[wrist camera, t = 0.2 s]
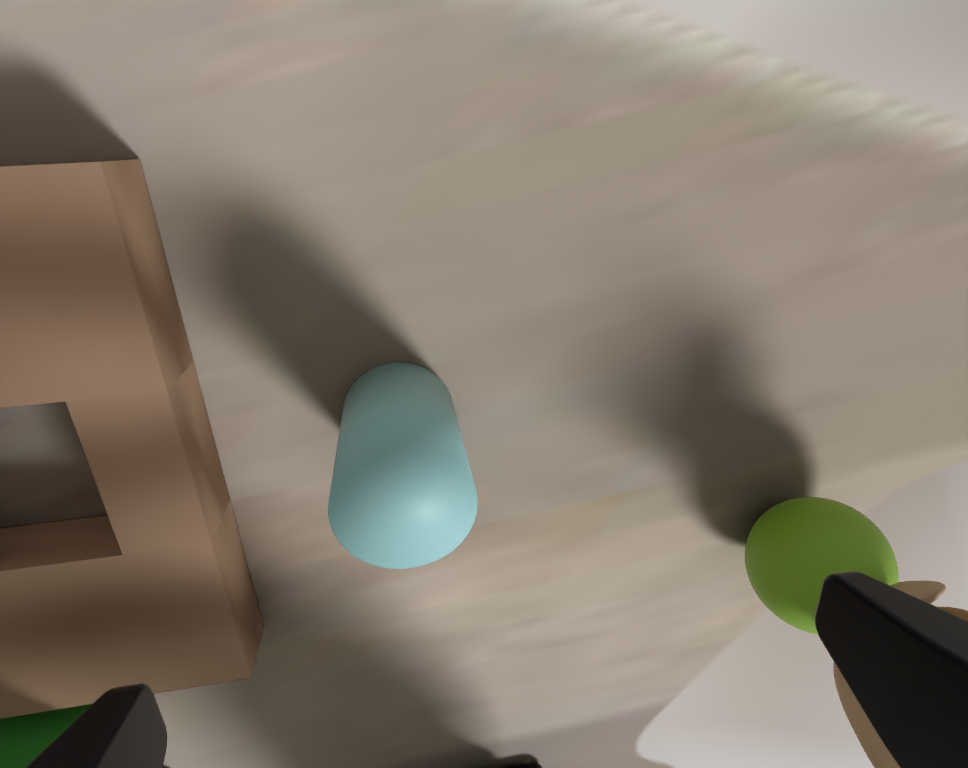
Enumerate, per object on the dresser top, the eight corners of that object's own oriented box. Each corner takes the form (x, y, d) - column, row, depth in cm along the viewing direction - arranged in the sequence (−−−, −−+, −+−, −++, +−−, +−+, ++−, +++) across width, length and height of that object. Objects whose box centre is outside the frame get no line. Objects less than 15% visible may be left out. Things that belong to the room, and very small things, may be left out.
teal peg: (456, 454, 22) (480, 557, 16) (351, 467, 21) (339, 578, 16) (449, 357, 20) (473, 435, 15) (335, 368, 20) (316, 454, 14)
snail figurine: (681, 556, 26) (899, 859, 15) (783, 451, 24) (1106, 702, 14) (755, 601, 28) (995, 899, 17) (853, 507, 26) (1184, 765, 15)
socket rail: (263, 626, 24) (250, 677, 21) (-30, 670, 22) (-77, 731, 20) (139, 158, 16) (100, 161, 14) (-306, 180, 15) (-430, 188, 13)
